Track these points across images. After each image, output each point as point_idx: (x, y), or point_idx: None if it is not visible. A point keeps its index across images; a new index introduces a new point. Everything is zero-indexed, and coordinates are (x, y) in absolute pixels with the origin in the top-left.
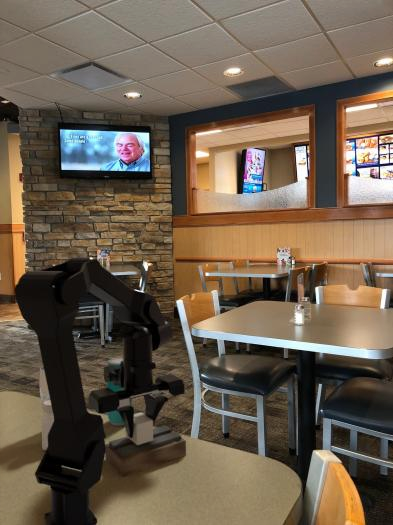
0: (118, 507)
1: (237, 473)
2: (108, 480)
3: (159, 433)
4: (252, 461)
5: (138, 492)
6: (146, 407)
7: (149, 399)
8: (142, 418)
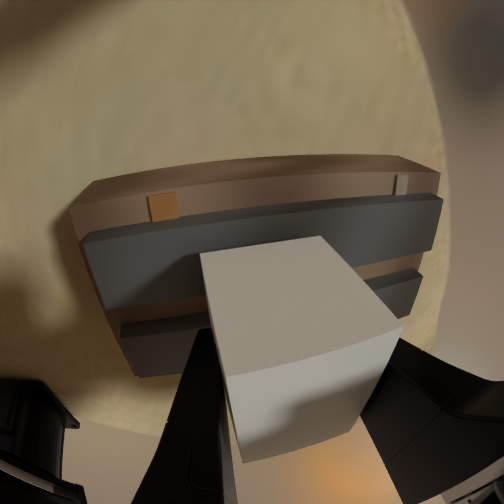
0: (116, 410)
1: None
2: (92, 329)
3: (380, 260)
4: (423, 343)
5: (167, 392)
6: (426, 408)
7: (450, 475)
8: (325, 419)
